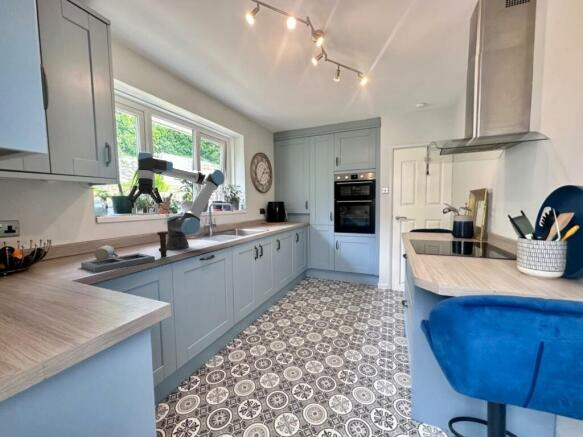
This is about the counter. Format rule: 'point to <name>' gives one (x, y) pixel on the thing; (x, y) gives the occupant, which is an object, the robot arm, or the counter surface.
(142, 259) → the hole plate
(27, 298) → the counter surface
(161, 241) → the bolt
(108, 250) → the ceramic mug
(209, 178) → the robot arm
